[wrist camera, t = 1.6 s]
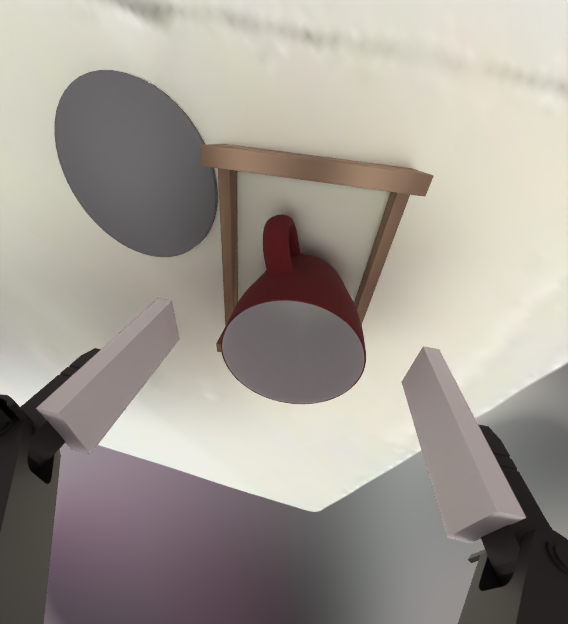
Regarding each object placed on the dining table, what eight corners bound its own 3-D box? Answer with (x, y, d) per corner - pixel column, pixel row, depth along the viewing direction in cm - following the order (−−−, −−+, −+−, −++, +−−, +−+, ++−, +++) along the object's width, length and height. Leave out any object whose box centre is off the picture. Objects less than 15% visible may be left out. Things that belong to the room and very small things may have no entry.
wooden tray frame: (230, 325, 26) (217, 351, 23) (224, 143, 17) (200, 144, 13) (348, 345, 25) (351, 375, 22) (411, 168, 16) (433, 175, 13)
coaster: (95, 243, 23) (90, 246, 22) (30, 62, 16) (20, 59, 15) (221, 263, 22) (218, 266, 21) (211, 83, 15) (207, 81, 14)
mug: (231, 221, 20) (163, 278, 11) (329, 182, 17) (331, 220, 9) (279, 322, 25) (256, 410, 17) (359, 304, 22) (379, 397, 14)
